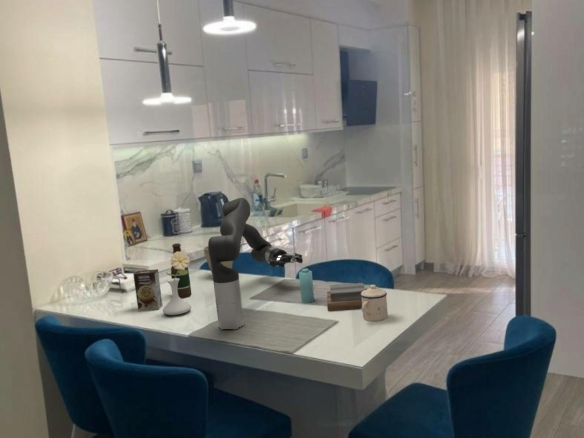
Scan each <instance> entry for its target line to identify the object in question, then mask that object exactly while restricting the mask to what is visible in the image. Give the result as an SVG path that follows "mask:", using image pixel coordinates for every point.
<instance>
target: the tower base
mask: <svg viewBox="0 0 584 438" xmlns="http://www.w3.org/2000/svg"><path fill="white" fill-rule="evenodd" d="M329 287H330V290H329V291H328V290H327V293H326V306H327V307H326V308H327V311H328V312H333V311H335V312H337V311H347V310H360V309H361V310H362V297H361V293H362V292H363V291H364V290H367V289H368V288H365V285H364V283H363V282H357V283H354V282H353V283H343V284H342V283H341V284H331V285H329Z"/></svg>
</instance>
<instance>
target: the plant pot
mask: <svg viewBox="0 0 584 438" xmlns="http://www.w3.org/2000/svg"><path fill="white" fill-rule="evenodd" d="M203 251H204V255H205V259H206V262H207V264H208V268H209V271H210V272H211V273H212V268H211V262H210V256H209V250H208V245H207V246H204V247H203ZM233 262H234V261H225V262H221V263H222V264H223V265H224V266H226V267H228V268H231V269H233V264H234V263H233Z"/></svg>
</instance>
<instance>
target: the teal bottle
mask: <svg viewBox="0 0 584 438" xmlns="http://www.w3.org/2000/svg"><path fill="white" fill-rule="evenodd" d="M313 280H314V279H313V271H312V270H309V268H302V269H301V270H300V271H299V272H298V281H299V286H300V288H299V289H300V290H299V291H300V298H301V303H303V304H309V303H313V302H315V293H314V292H315V291H314V281H313Z"/></svg>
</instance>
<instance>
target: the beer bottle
mask: <svg viewBox="0 0 584 438" xmlns="http://www.w3.org/2000/svg"><path fill="white" fill-rule="evenodd" d="M181 245H182V244H181V243H173V244H172V251H173V252H172V255H174V253H176V252H177V251H178V252H180V251H181V252H182V249H181ZM180 270H181V269H180ZM185 270H187V271H188V272H189V266H188V267H187V268H185ZM177 271H179V270H178V269H175V268H174V267H173V266H172V265H171V267H170V274H174V275H175V276H176V274H177V276H176V278H179V279H180V280H179V282H178V286H177V290H178V295H179V297H180V298H181V299H182V300H183V299H186V298H190V297H191V296H192V286H191V280H190V279H191V277H190V272H189V273H187V274H185V275H181V274H179V273H177ZM175 276H170V277H171V279H173V278H175Z"/></svg>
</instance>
